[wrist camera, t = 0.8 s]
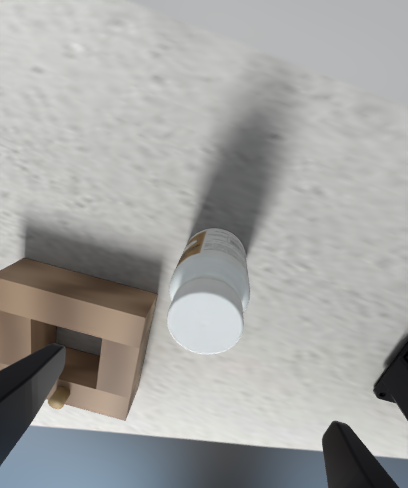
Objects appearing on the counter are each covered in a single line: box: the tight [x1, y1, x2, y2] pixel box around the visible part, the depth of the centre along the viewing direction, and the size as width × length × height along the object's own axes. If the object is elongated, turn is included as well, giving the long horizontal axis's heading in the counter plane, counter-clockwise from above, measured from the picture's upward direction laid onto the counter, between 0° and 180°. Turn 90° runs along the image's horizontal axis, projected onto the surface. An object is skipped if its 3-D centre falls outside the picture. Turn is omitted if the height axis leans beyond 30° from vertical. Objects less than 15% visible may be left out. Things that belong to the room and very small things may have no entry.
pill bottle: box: [167, 228, 250, 355], centre depth 15 cm, size 4×4×8 cm
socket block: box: [0, 258, 158, 421], centre depth 20 cm, size 11×11×4 cm
